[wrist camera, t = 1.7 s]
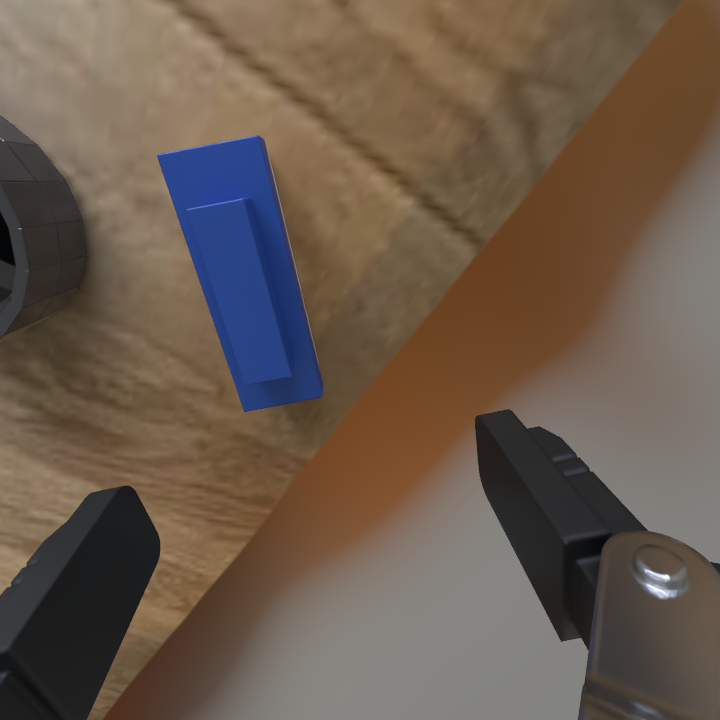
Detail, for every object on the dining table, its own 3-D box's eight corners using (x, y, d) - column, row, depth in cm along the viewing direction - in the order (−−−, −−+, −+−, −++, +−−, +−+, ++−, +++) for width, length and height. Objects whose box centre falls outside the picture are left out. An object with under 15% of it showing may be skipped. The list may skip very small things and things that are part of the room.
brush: (185, 160, 22) (139, 151, 17) (270, 143, 22) (251, 129, 17) (255, 381, 28) (238, 428, 23) (323, 368, 28) (322, 412, 22)
